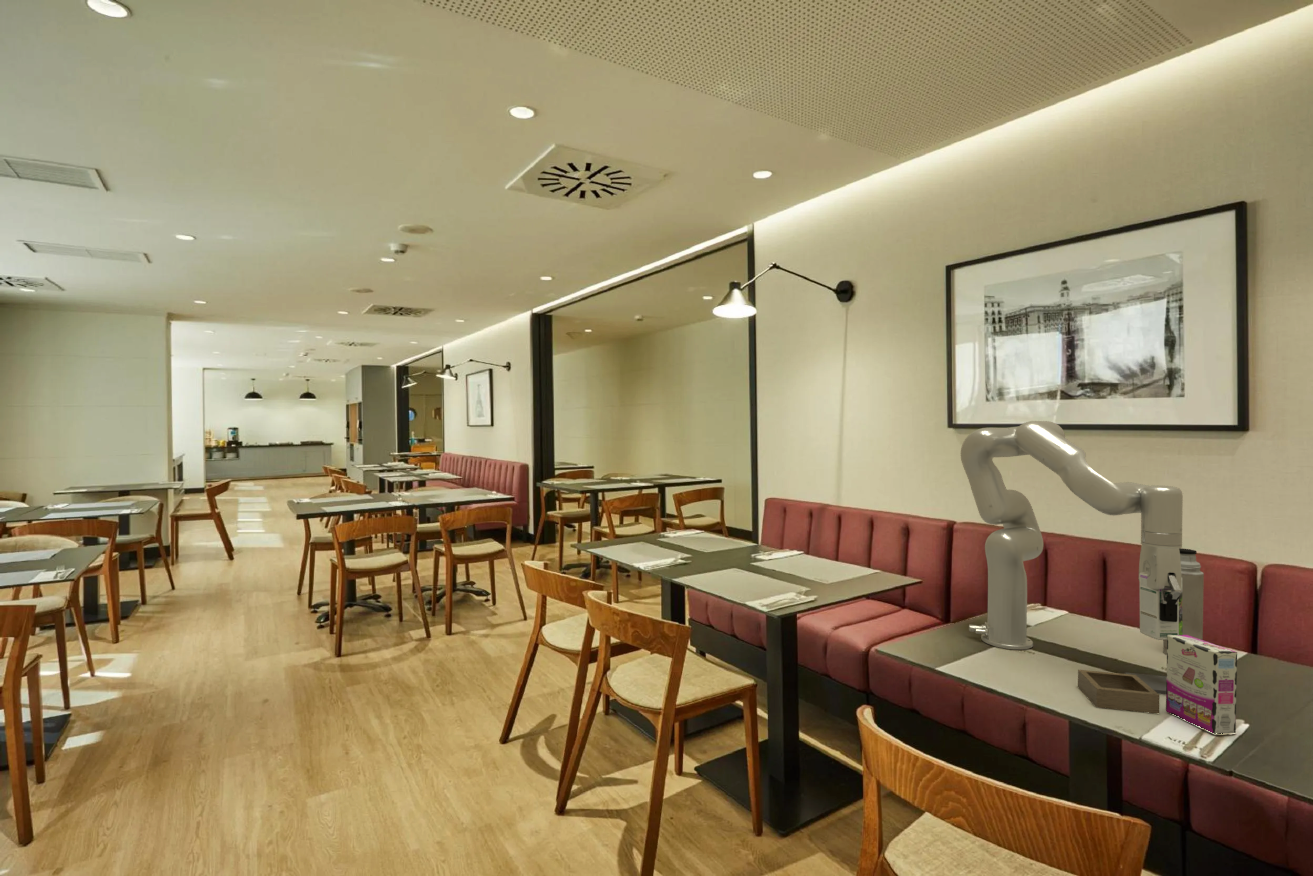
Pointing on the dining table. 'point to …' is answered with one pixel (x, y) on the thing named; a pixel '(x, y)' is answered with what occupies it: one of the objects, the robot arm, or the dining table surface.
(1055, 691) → the dining table surface
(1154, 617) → the syrup box
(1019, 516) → the robot arm
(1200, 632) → the thermos bottle
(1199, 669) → the candy bar box
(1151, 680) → the mat
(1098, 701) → the collar
